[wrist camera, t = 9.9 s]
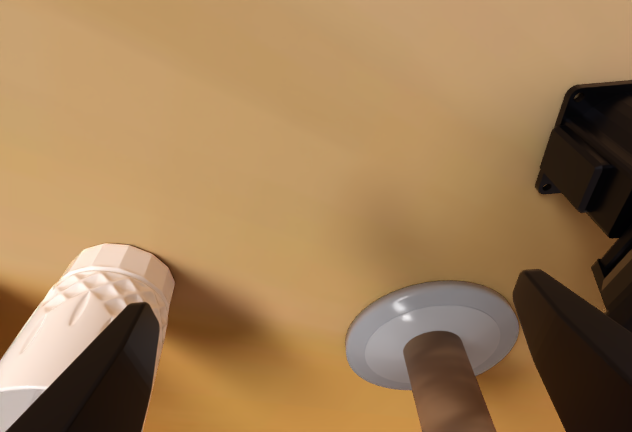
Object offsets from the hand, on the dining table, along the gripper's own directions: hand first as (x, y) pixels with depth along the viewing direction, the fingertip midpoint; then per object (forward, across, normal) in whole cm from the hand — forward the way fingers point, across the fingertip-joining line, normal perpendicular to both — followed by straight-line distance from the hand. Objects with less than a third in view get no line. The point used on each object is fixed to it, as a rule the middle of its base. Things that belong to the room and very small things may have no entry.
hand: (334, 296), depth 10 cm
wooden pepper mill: (+12, -8, +22) cm, 26 cm away
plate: (+13, -8, +22) cm, 27 cm away
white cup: (+13, +14, +12) cm, 23 cm away
